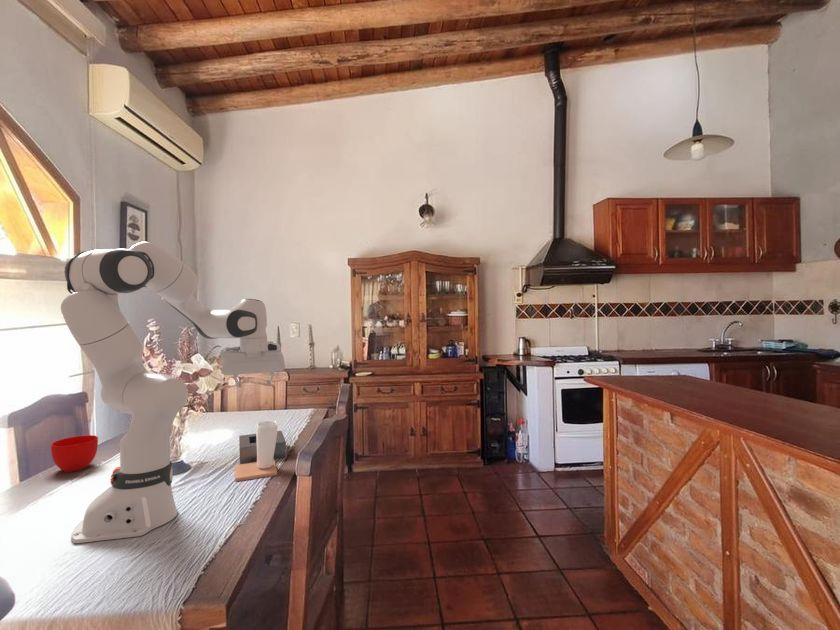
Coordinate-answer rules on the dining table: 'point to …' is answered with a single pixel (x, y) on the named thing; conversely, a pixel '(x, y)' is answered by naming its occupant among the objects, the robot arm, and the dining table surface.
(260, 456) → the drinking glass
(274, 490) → the dining table surface
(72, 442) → the red bowl
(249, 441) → the holder block
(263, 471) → the terracotta tile
